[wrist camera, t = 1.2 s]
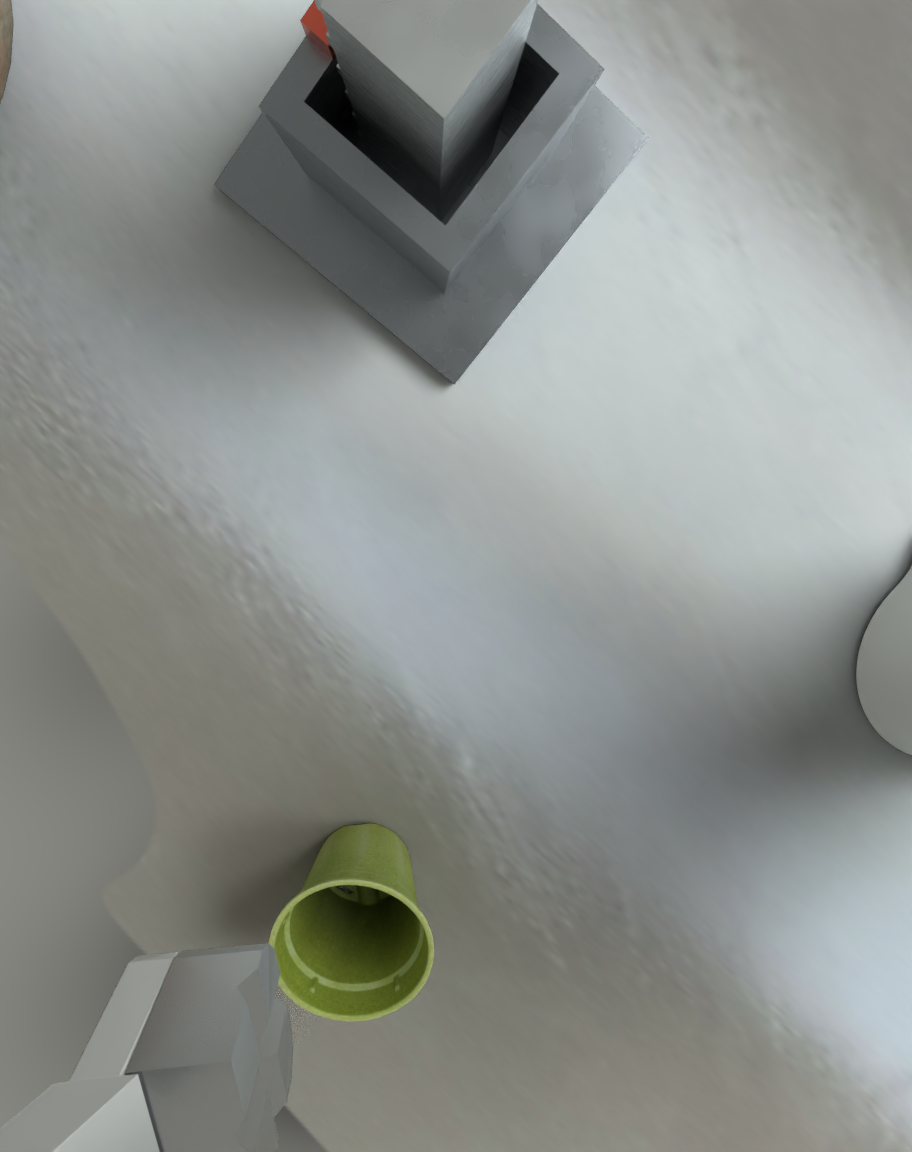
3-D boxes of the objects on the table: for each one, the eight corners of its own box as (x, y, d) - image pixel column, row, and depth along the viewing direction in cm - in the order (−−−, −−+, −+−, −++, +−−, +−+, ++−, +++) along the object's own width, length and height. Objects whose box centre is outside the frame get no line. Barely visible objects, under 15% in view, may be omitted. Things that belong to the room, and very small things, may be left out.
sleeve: (405, -87, 40) (391, -323, 26) (643, 142, 43) (746, 41, 29) (218, 188, 43) (116, 109, 29) (453, 383, 46) (463, 397, 32)
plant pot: (265, 875, 54) (235, 971, 46) (345, 772, 52) (329, 852, 44) (380, 943, 56) (371, 1047, 47) (461, 846, 54) (467, 936, 45)
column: (412, 81, 41) (395, -165, 21) (491, 153, 42) (543, -19, 22) (358, 155, 41) (296, -16, 22) (438, 225, 42) (443, 118, 23)
